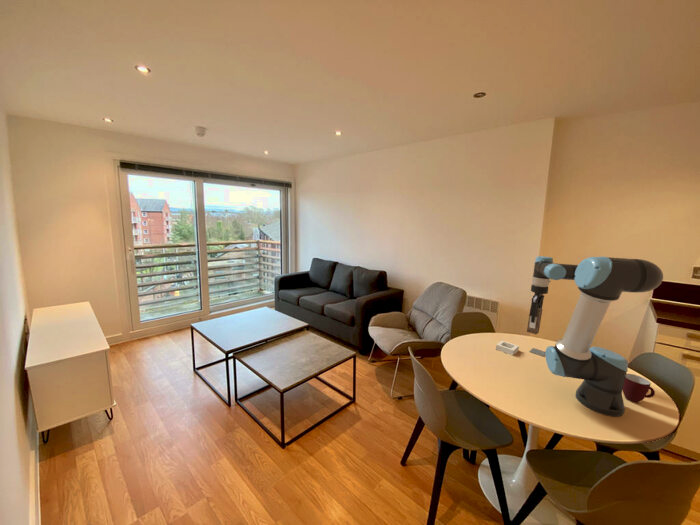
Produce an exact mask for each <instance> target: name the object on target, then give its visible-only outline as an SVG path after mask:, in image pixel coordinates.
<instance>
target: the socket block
mask: <svg viewBox="0 0 700 525" xmlns="http://www.w3.org/2000/svg"><path fill="white" fill-rule="evenodd" d="M519 349H520V346H519V345H518V344H515V343H511V342H509V341H505V340H501V341H499V342H498V343H496V345H495V350H496V351H500V352H502V353H505V354H507V355H510V356H512V357H513V356H514V355H515V354H516V353H517V352H519Z"/></svg>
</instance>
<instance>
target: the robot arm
mask: <svg viewBox="0 0 700 525" xmlns="http://www.w3.org/2000/svg"><path fill="white" fill-rule="evenodd" d="M534 260H535V261H534V266H533V275H532V278H531V279H532V280H531V284H530V286H531V287H530V291H531V292H532V293H534V295H533V296H532V298H531V303H530V304H531V305H530V308H531V310H530V309H529V314H528V317H529V316H531V318H530V324H529V327H530V328H534V329H535V327H536V320H537V311H538V308H540V309H542V310H543V306H544V298H545V295H546V294H548V293H549V286H550V283H551V281H552V280H553V281H559V280H567V281H569V280H570V281H574V284H575V285H576V286H577V290H578V291H579V292H580V295H579V296H578V300H577V301H576V305H575V308H574V310H573V312H572V314H571V317H570V319H569V322H568V324H567V327H566V330H565V332H564V335H563V337H562V338H561V339H558V340H557V341H556V342H555V345H554V346H553V345H551V346H547V347H546V349H545V352H546V353H545V362H546V366H547V368H548V370H549V371H550V372H551V374H553V375H554V376H558V377H562V378H570V379H571V378H572V379H576V380H577V379H579V380H583V381H582V382H581V383H580V385H579V386H578V387H577V389H576V390H575V391H576V392H575V398H576V400H577V401H578V402H579V403H580V404H581V405H583V406H585V407H587V408H588V409H590V410H591V411H592V410H593V411H595V412H596V413H599V414H602V415H606V416H609V417H622V416H623V415H624V414H625V408H626V407H625V403H624V398H623V386H624V381H625V377H626V374H628V373H627V372H628V371H629V370H628V367H629V362H628V360H627V358H626V357H624V356H622V355H621V354H619V353H618V352H614V351H613V350H609V349H607V348H604V347H599V346H591V345H592V344H593V341H594V339H595V337H596V335H597V332H598V331H599V328H600V326H601V324H602V322H603V320H604V318H605V315H606V313H607V310H608V309H609V306H610V305H611V303H612V302H616V301H619V299H620V297H621V295H622V293H639V294H640V293H646V292H650V291H653V290H655V289H657V288H658V287H659V286H660V285H662V282H663V280H664V273H663V271H662V269H661V267H660V266H658V265H657V264H655V263H654V262H651V261H649V260H646V259H641V258H640V259H639V258H627V257H626V258H624V257H623V258H622V257H611V256H610V257H608V256H589V257H587V258H585V259H583V260H581V261H580V263H579V264H568V263H557V262H556V263H555V262H554V258H553V257H550V256H542V255H538V256H536V257H535V259H534Z"/></svg>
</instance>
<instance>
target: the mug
mask: <svg viewBox="0 0 700 525" xmlns="http://www.w3.org/2000/svg"><path fill="white" fill-rule="evenodd" d="M649 391H650V393H649ZM648 393H649V394H648ZM622 395H623V396H624V398H625V399H626V400H627V401H629V402H631V403H634V402H635V403H634V404H638V403H640V402H642V401H643V400H644V399H646V398H648V399H649V398H653V397H654V396H655V395H656V391H655V390H654V388H653V387H651V382H650V381H649V380H648V379H646V378H644V377H641V376H640V375H636V374H634V373H626V377H625V381H624V386H623V390H622Z"/></svg>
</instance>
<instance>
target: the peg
mask: <svg viewBox="0 0 700 525" xmlns="http://www.w3.org/2000/svg"><path fill="white" fill-rule="evenodd" d="M530 310H531V307H530V309H529V311H530ZM542 315H543V308H542V309H540V308H538V311H537V320H536V327H535V329H534V328H530V327H529V324H530V318H531V316H529V315H528V323H527V328H526V332H527V333H530V334H533V335H538V334H539V332H540V328H541V321H542Z"/></svg>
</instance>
